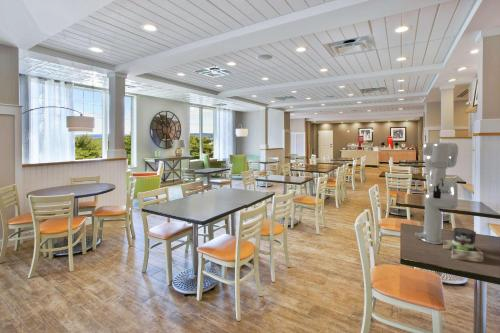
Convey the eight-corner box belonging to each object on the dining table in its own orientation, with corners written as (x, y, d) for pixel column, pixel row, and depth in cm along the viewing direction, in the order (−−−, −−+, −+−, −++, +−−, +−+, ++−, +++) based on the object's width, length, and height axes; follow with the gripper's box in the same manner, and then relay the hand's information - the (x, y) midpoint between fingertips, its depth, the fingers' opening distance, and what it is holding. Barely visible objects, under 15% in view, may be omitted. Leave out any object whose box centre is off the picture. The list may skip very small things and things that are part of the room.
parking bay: (452, 258, 154) (452, 249, 153) (443, 247, 169) (443, 239, 168) (482, 262, 149) (483, 253, 149) (470, 251, 164) (471, 242, 163)
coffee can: (473, 259, 152) (475, 235, 151) (450, 254, 159) (452, 230, 158) (474, 254, 160) (476, 230, 158) (452, 249, 167) (454, 226, 165)
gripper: (427, 164, 161) (425, 195, 163) (435, 166, 147) (432, 200, 149) (442, 164, 159) (440, 196, 160) (452, 167, 144) (449, 201, 146)
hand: (436, 198), depth 155 cm, fingers closed
